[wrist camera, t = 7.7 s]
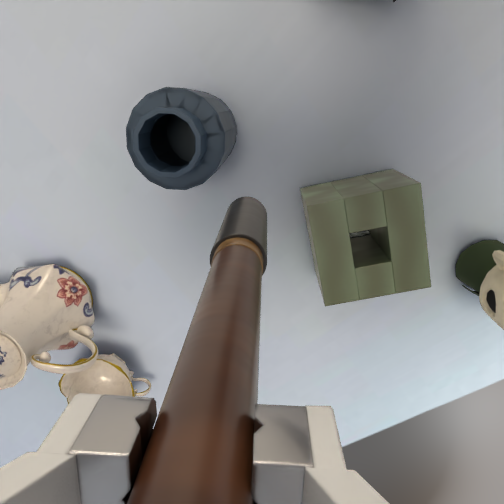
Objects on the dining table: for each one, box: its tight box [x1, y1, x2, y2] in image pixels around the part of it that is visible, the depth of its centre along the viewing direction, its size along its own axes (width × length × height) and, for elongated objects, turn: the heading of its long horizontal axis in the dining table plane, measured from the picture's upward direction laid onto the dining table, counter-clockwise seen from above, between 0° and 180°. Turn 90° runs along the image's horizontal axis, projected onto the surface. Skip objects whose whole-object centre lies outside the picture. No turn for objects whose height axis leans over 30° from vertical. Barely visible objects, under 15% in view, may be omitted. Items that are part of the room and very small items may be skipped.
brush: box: [127, 197, 267, 504], centre depth 16 cm, size 2×2×22 cm
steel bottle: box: [126, 87, 236, 190], centre depth 38 cm, size 8×8×16 cm
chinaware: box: [0, 264, 151, 404], centre depth 47 cm, size 28×17×17 cm, turn 73°
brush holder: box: [300, 169, 431, 306], centre depth 44 cm, size 10×10×9 cm
